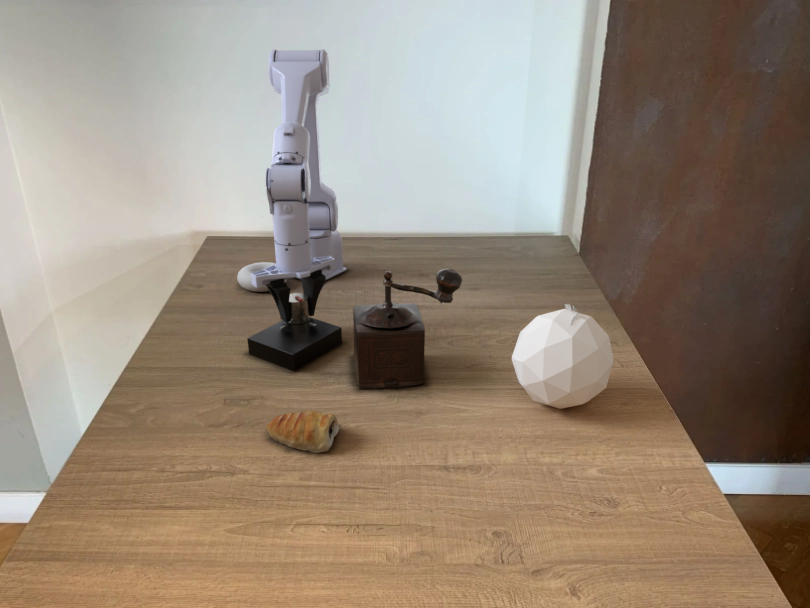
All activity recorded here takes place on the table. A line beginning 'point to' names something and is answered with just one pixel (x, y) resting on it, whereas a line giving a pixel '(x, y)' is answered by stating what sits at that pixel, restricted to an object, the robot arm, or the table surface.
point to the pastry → (305, 430)
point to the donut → (245, 276)
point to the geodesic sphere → (563, 358)
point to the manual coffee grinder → (395, 335)
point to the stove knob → (298, 308)
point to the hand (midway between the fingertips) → (297, 317)
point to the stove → (294, 342)
